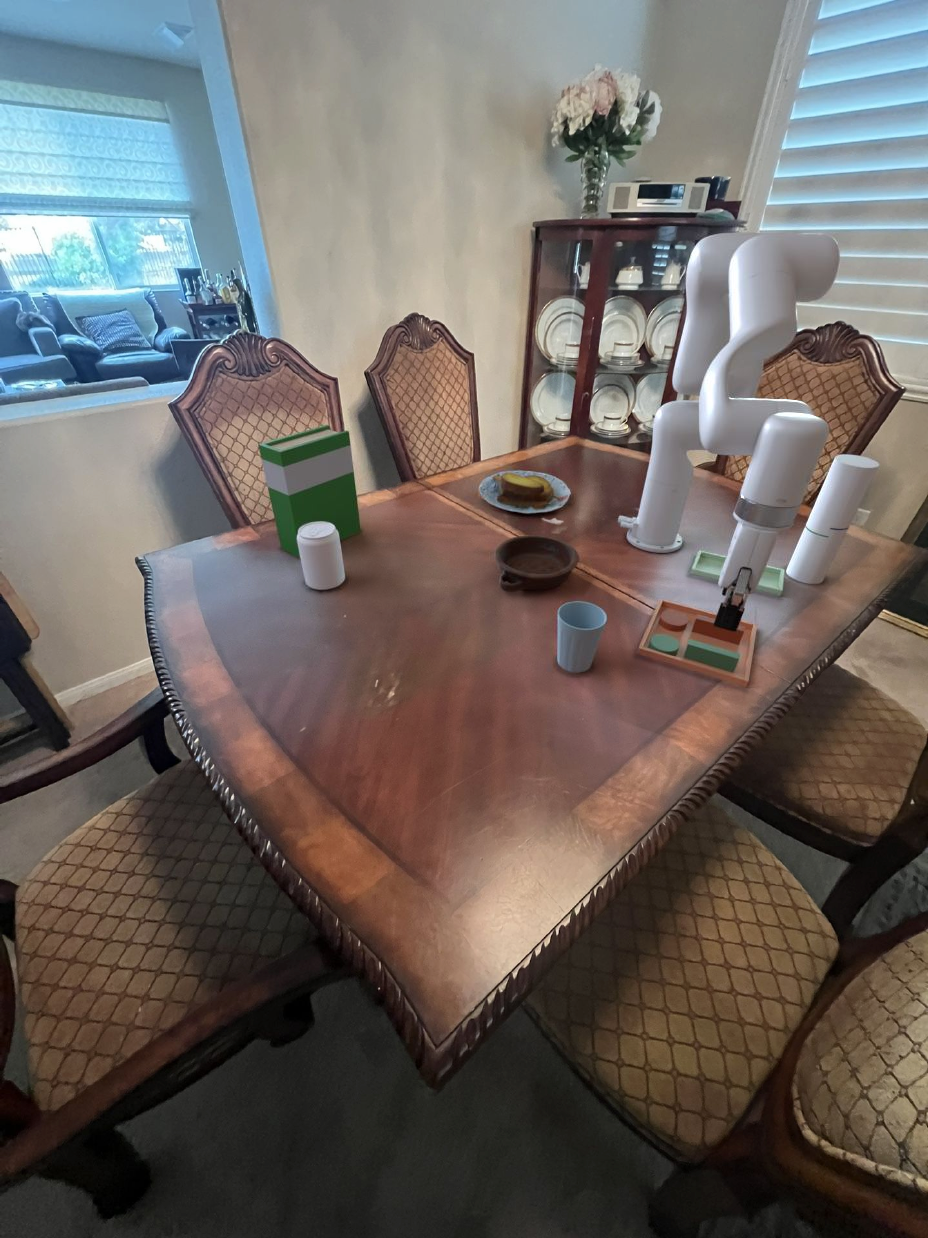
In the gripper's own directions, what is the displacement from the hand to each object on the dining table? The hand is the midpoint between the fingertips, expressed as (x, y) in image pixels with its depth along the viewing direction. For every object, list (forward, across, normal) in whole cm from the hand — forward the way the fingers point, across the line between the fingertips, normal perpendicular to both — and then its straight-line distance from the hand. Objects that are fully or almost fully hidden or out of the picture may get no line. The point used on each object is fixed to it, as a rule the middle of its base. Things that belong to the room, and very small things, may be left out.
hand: (728, 611), depth 82 cm
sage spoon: (+11, 0, -2) cm, 11 cm away
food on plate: (+11, -50, -55) cm, 75 cm away
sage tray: (+11, -34, +1) cm, 35 cm away
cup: (+12, +10, -20) cm, 25 cm away
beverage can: (+11, +10, -74) cm, 76 cm away
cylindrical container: (+11, -42, +14) cm, 45 cm away
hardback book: (+11, -4, -87) cm, 88 cm away
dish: (+11, -14, -37) cm, 41 cm away
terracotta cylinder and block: (+11, -9, -2) cm, 14 cm away
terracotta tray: (+11, -6, -3) cm, 13 cm away
